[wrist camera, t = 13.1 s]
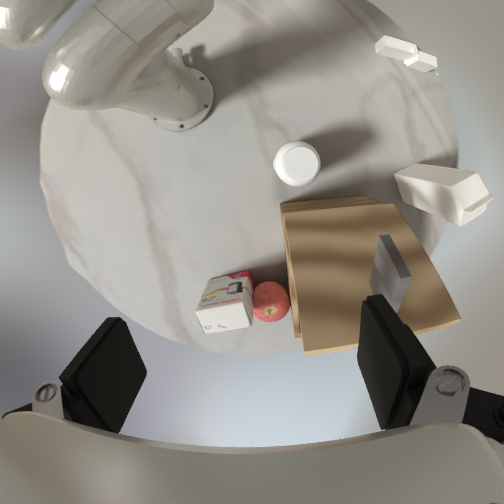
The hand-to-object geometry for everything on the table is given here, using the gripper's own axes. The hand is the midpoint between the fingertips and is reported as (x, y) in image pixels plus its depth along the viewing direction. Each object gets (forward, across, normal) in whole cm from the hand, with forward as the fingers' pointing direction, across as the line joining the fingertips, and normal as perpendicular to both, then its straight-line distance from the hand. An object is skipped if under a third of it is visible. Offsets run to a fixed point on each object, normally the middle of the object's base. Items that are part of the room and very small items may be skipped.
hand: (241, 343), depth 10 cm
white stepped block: (+41, -32, -25) cm, 58 cm away
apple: (+40, +1, +19) cm, 45 cm away
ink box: (+40, +8, +17) cm, 45 cm away
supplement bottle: (+40, -6, -5) cm, 41 cm away
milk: (+40, -29, 0) cm, 50 cm away
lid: (+19, -11, +6) cm, 23 cm away
